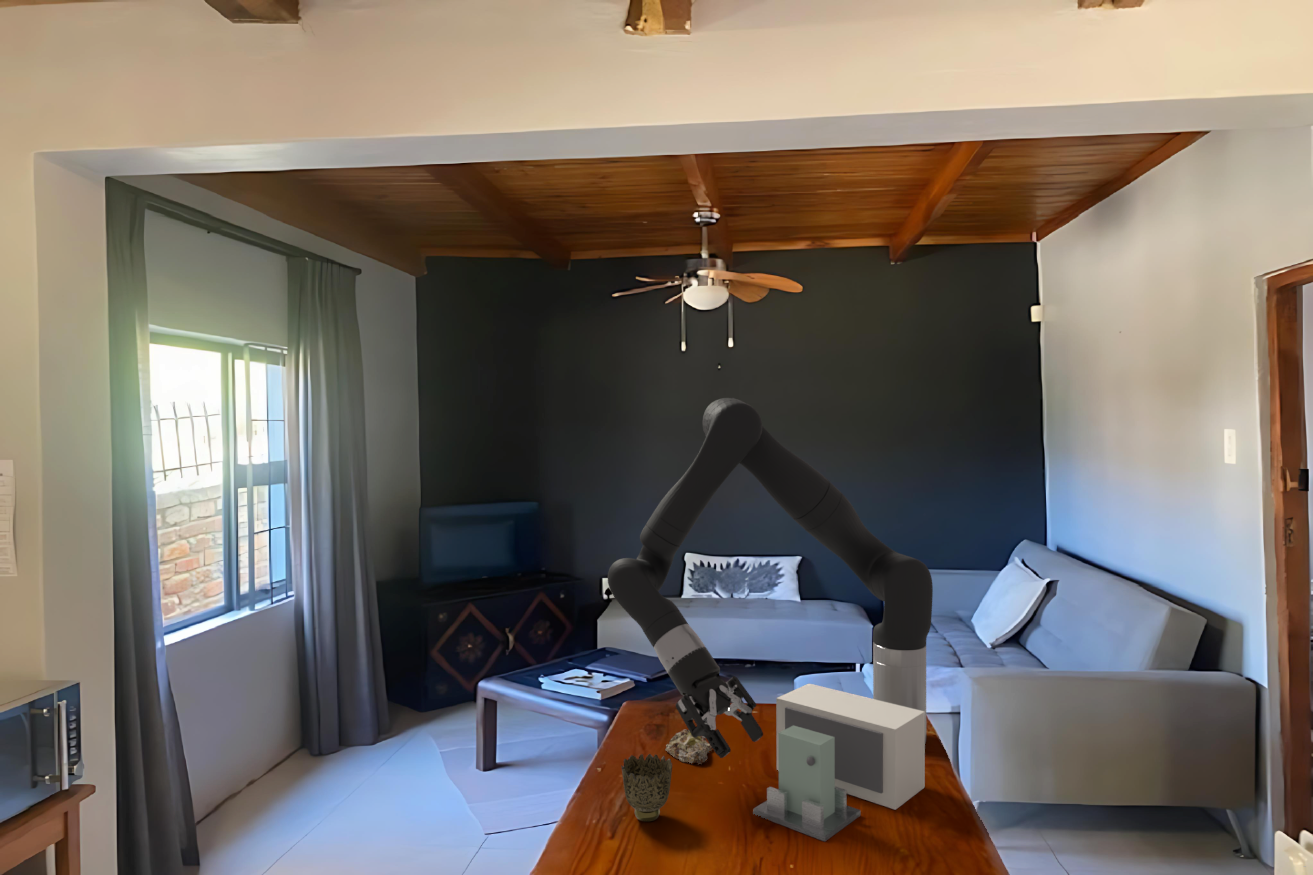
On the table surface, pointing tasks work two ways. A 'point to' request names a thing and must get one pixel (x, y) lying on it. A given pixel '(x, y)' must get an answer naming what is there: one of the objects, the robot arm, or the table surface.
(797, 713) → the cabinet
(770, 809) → the grey holder base
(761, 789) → the table surface
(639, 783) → the cup
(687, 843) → the table surface
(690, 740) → the mineral rock
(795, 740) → the pale green rectangular box
